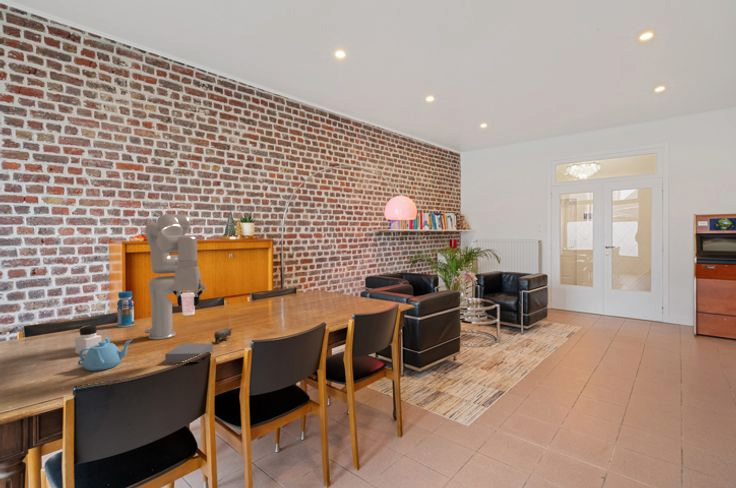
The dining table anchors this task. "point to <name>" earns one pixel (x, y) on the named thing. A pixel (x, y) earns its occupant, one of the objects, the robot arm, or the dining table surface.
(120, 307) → the beverage bottle
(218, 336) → the rhino figurine
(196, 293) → the robot arm
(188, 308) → the beverage cup
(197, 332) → the dining table surface
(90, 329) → the medicine bottle
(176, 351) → the plinth
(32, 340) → the dining table surface
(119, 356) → the teapot
